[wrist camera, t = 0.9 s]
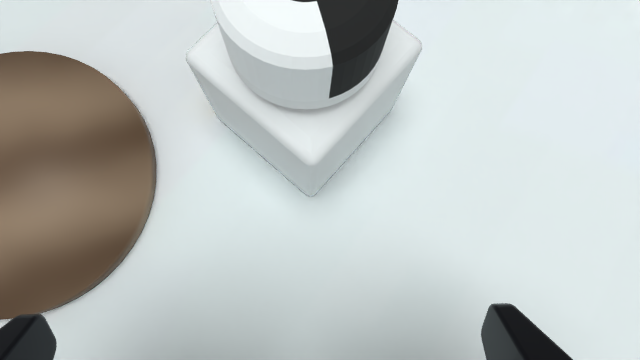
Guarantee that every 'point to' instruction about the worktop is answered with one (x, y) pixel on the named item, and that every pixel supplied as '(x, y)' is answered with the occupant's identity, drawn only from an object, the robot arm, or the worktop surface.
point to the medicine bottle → (303, 77)
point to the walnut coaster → (66, 180)
